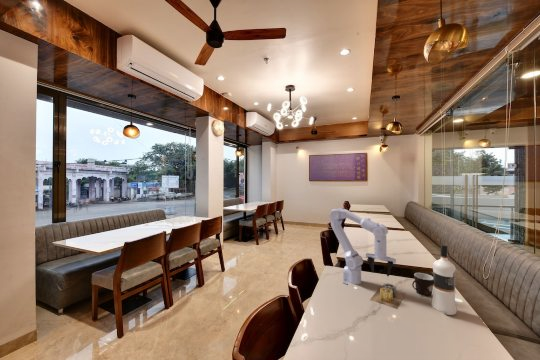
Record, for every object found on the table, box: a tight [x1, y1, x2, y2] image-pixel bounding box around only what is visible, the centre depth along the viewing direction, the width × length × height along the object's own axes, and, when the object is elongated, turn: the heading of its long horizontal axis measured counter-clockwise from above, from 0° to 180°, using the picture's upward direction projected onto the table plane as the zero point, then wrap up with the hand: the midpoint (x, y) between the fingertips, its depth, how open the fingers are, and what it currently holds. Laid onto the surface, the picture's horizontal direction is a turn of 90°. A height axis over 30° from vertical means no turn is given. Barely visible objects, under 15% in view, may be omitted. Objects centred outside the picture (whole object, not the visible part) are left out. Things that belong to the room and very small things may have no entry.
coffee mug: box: [411, 272, 433, 298], centre depth 119 cm, size 12×9×10 cm
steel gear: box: [382, 283, 397, 297], centre depth 118 cm, size 6×6×4 cm
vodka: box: [430, 244, 458, 316], centre depth 106 cm, size 9×9×30 cm
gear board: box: [369, 286, 406, 310], centre depth 115 cm, size 12×18×6 cm, turn 140°
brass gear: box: [380, 288, 393, 303], centre depth 113 cm, size 6×6×4 cm
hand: (380, 273), depth 122 cm, fingers open, 7 cm apart
